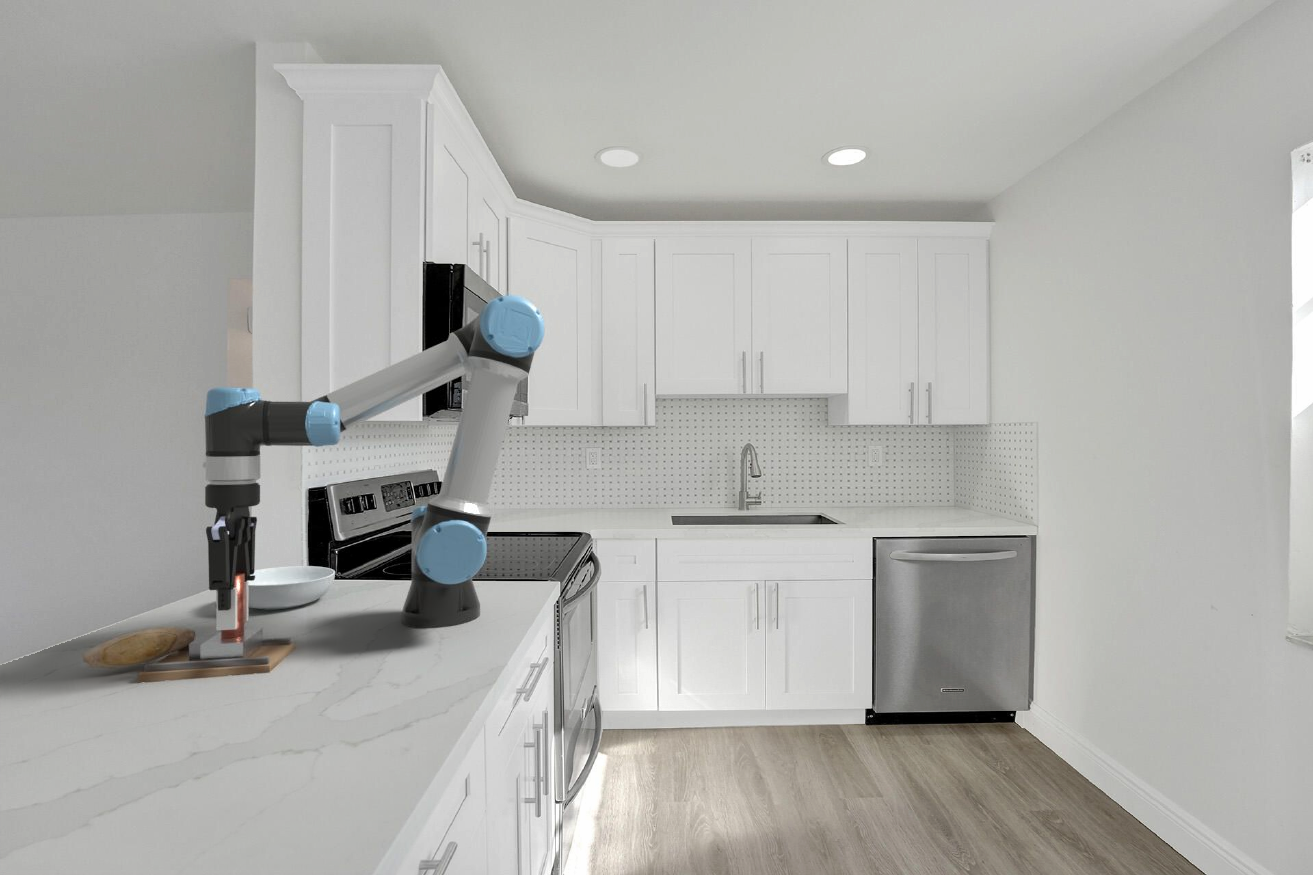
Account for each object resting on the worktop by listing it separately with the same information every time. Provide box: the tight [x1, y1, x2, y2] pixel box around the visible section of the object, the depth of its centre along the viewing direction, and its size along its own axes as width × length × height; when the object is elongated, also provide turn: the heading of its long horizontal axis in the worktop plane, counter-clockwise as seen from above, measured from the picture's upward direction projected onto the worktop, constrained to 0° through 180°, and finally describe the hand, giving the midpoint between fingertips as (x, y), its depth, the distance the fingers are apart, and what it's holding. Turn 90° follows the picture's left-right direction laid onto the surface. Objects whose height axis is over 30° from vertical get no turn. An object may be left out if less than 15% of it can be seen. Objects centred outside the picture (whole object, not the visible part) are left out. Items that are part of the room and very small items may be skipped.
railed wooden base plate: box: [137, 637, 296, 684], centre depth 105 cm, size 18×12×2 cm, turn 102°
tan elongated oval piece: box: [81, 626, 197, 669], centre depth 104 cm, size 5×14×4 cm
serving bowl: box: [247, 565, 336, 611], centre depth 143 cm, size 21×21×7 cm
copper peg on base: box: [189, 573, 263, 661], centre depth 105 cm, size 8×8×13 cm
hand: (232, 624), depth 106 cm, fingers open, 4 cm apart
